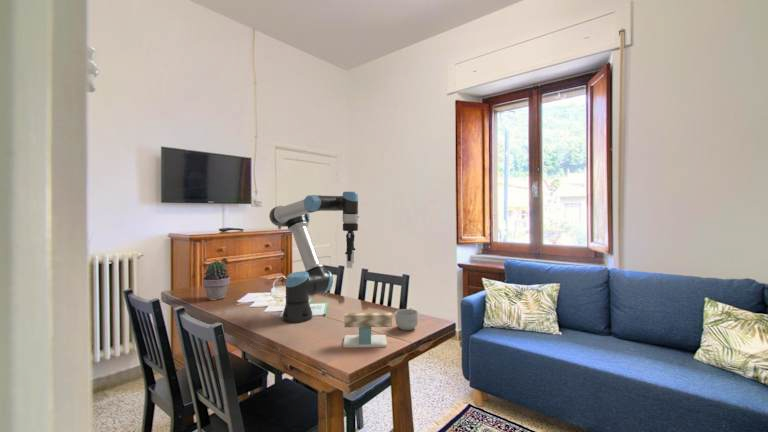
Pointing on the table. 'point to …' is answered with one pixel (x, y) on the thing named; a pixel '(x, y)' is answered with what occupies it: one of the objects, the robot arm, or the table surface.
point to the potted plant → (216, 280)
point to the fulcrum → (365, 339)
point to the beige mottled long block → (368, 319)
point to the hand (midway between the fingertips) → (350, 265)
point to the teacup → (406, 319)
